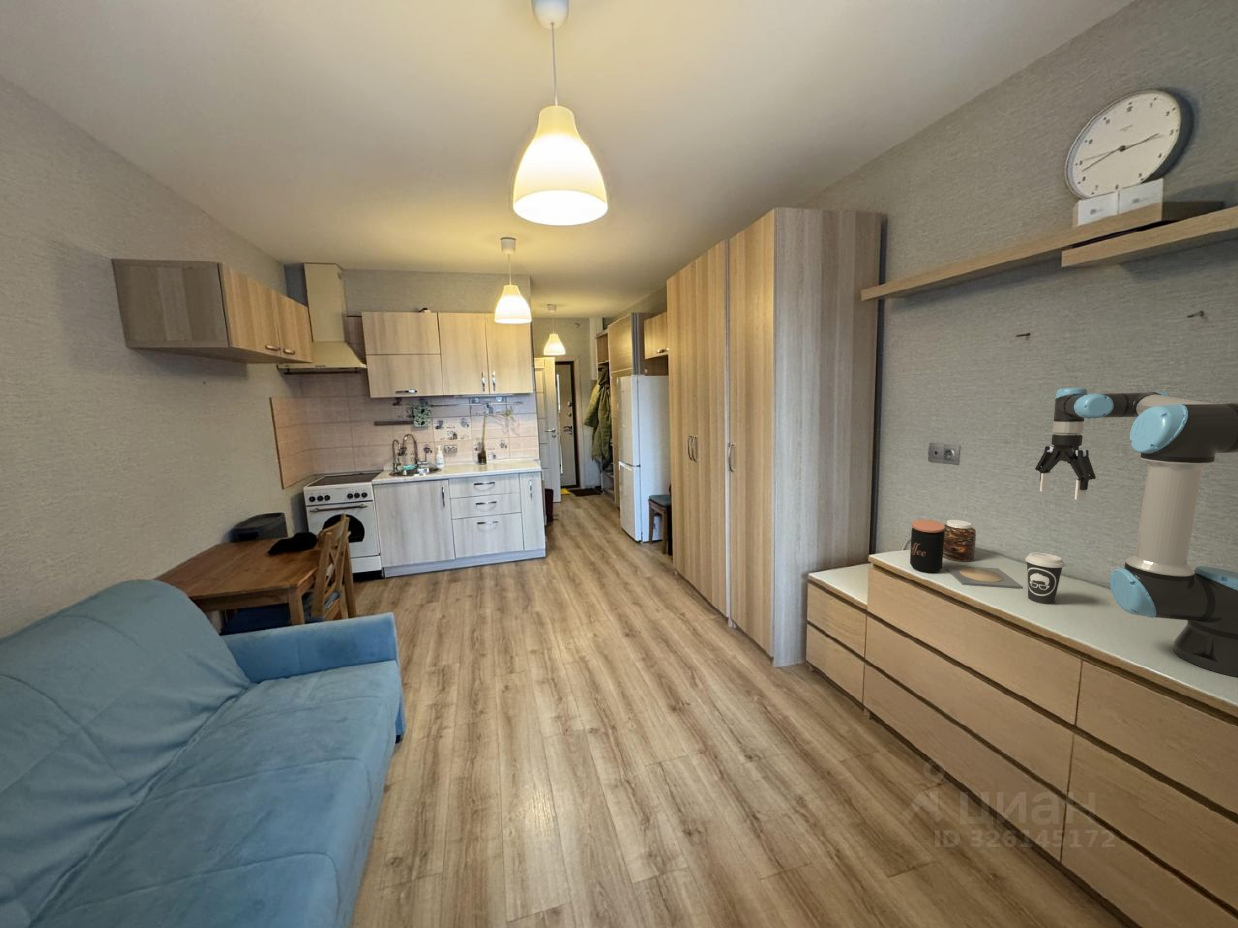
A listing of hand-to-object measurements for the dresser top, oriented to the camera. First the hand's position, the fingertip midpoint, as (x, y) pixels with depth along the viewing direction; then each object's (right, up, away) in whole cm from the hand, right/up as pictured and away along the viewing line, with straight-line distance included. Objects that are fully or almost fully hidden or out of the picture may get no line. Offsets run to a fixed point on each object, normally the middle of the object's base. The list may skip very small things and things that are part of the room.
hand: (1061, 495), depth 162 cm
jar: (-12, -28, +34) cm, 46 cm away
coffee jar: (-32, -30, +22) cm, 49 cm away
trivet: (-18, -31, +13) cm, 38 cm away
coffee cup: (-14, -34, -7) cm, 38 cm away
